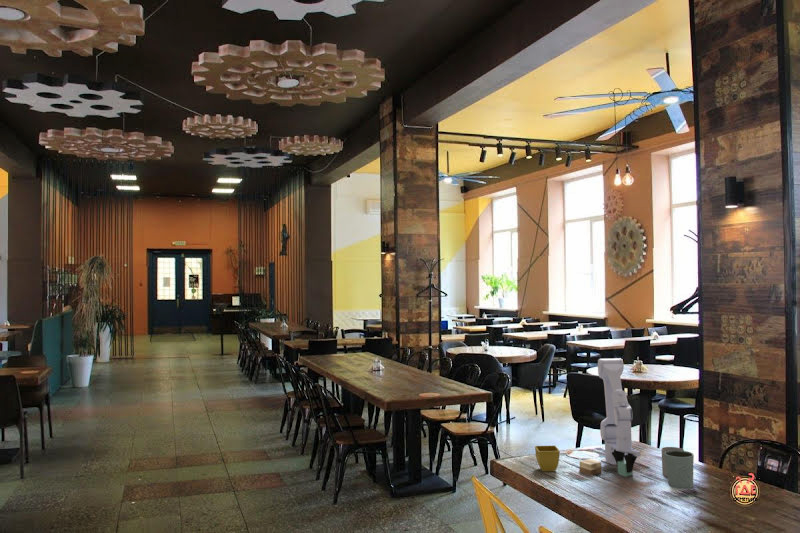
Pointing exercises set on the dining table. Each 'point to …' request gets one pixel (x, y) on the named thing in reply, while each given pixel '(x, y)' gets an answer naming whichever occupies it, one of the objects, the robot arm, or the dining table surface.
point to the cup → (664, 468)
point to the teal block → (623, 468)
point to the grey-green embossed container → (680, 468)
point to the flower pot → (547, 457)
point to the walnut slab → (589, 471)
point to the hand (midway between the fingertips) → (625, 470)
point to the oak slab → (590, 464)
